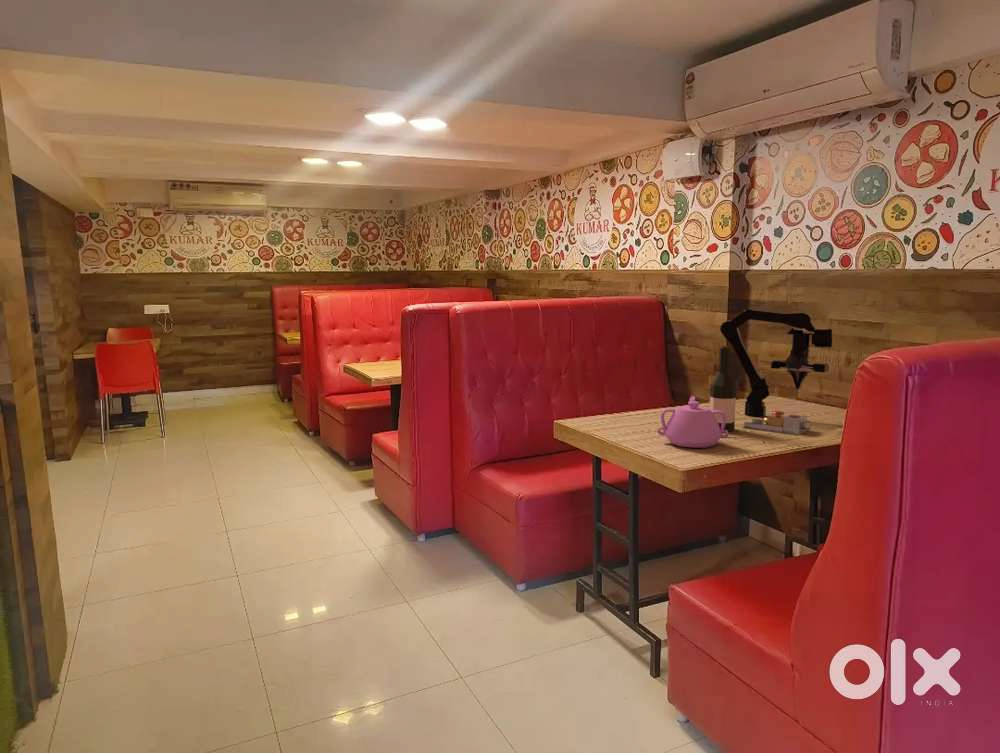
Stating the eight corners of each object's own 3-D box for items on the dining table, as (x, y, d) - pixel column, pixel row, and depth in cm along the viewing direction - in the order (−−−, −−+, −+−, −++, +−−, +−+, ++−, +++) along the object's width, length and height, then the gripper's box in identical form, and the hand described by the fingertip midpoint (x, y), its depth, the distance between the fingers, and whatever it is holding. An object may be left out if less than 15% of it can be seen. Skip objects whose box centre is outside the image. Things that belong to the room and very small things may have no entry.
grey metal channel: (740, 430, 234) (741, 413, 233) (753, 424, 243) (754, 408, 242) (803, 439, 221) (805, 421, 220) (814, 433, 230) (815, 415, 229)
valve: (761, 428, 233) (762, 411, 232) (766, 426, 237) (767, 409, 236) (793, 433, 226) (794, 415, 225) (798, 430, 229) (799, 413, 228)
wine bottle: (734, 430, 234) (738, 345, 230) (734, 436, 226) (738, 347, 222) (709, 429, 237) (712, 344, 233) (708, 434, 229) (711, 346, 225)
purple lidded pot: (724, 436, 227) (725, 395, 225) (731, 452, 206) (732, 408, 204) (657, 433, 232) (658, 393, 230) (657, 448, 211) (658, 405, 209)
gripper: (766, 347, 245) (764, 389, 247) (821, 350, 233) (818, 394, 235) (777, 344, 253) (774, 385, 255) (830, 347, 241) (827, 390, 243)
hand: (797, 389), depth 247 cm, fingers closed
